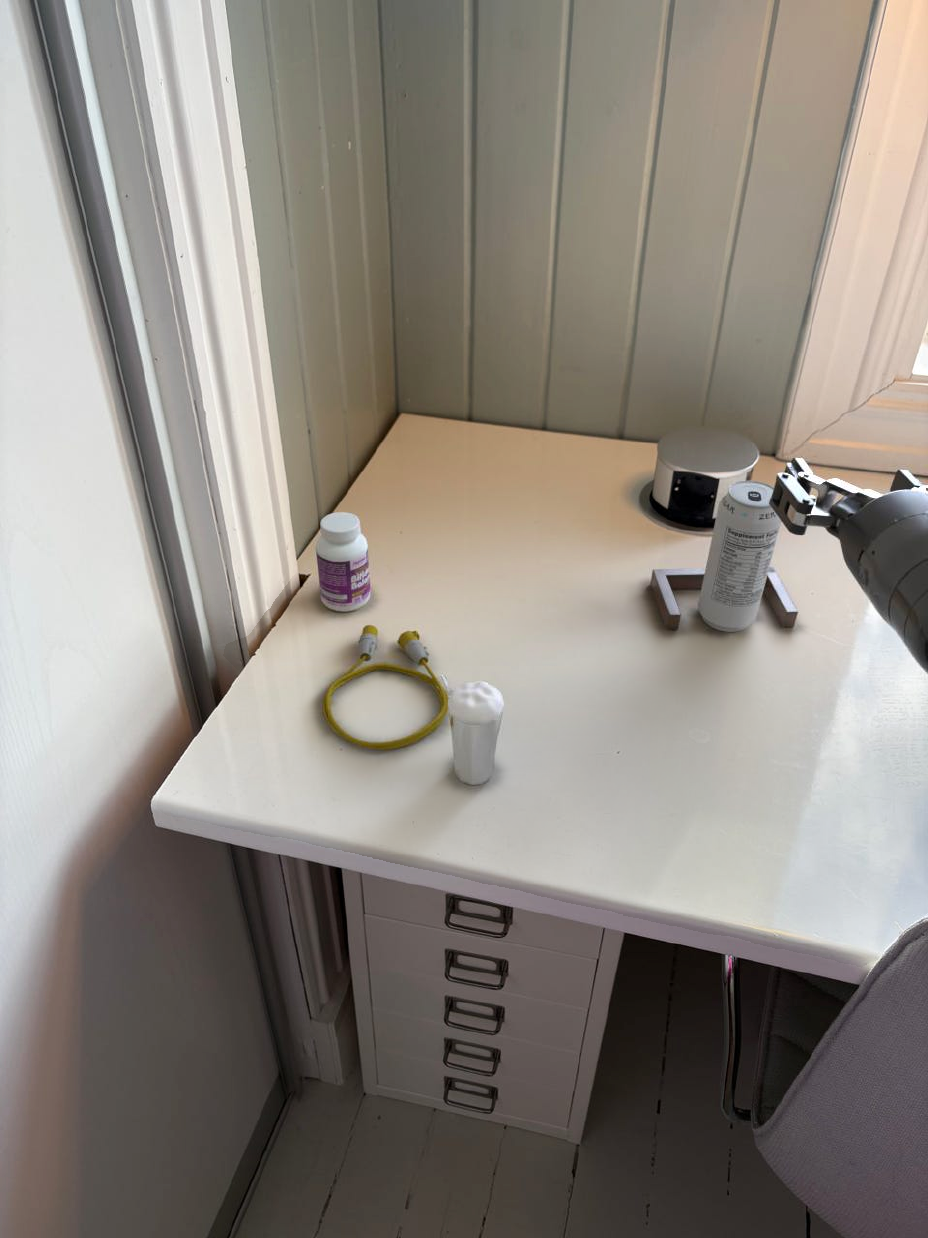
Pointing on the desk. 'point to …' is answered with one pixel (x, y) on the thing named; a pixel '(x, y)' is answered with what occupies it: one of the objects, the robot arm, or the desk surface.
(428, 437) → the desk surface
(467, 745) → the milkshake
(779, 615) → the bay
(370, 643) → the extension cord
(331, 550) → the pill bottle
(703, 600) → the energy drink can
